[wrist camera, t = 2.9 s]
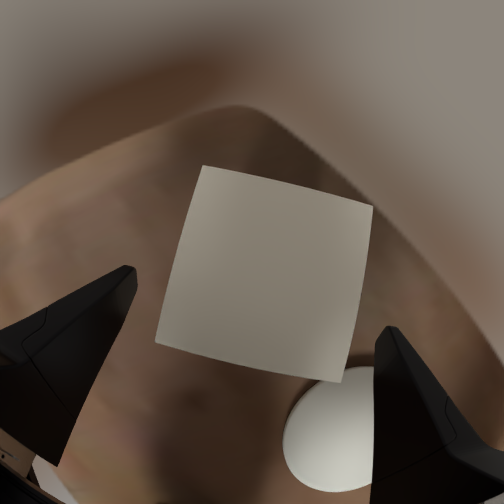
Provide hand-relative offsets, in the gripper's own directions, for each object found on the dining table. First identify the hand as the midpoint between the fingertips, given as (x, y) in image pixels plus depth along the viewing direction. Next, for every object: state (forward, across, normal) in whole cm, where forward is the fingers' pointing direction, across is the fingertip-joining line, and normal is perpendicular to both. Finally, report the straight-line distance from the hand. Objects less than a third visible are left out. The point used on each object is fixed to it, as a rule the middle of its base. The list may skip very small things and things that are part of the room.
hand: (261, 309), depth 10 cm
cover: (+7, 0, +5) cm, 9 cm away
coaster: (+1, -9, +11) cm, 14 cm away
